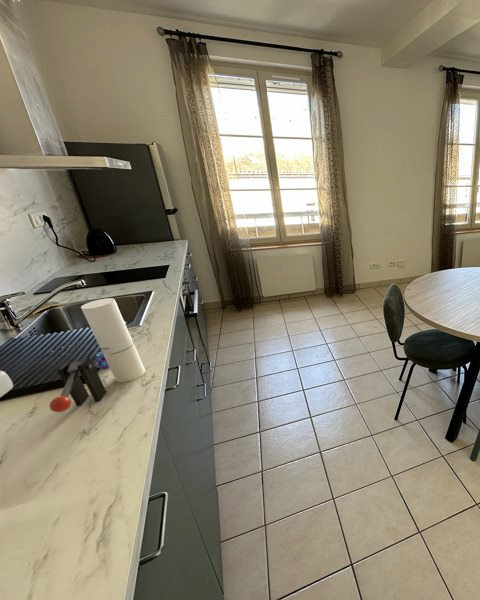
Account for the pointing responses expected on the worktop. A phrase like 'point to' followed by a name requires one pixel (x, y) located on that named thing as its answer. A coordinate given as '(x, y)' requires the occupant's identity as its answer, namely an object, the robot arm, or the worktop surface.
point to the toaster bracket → (90, 379)
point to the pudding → (101, 360)
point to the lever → (66, 390)
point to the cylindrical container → (113, 339)
